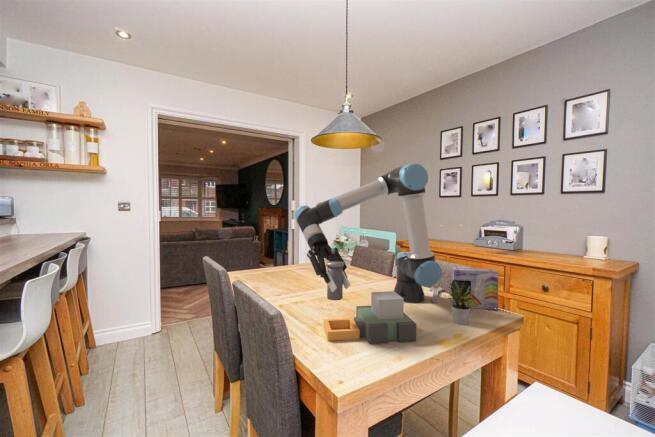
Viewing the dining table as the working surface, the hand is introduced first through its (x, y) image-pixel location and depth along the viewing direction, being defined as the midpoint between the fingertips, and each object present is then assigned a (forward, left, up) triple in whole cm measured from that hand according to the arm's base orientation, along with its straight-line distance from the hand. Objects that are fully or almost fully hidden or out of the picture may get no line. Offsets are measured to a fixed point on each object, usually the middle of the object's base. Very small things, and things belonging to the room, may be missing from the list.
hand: (341, 288), depth 100 cm
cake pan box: (-65, -19, -16) cm, 70 cm away
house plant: (-48, -5, -16) cm, 50 cm away
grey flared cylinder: (+2, -3, -4) cm, 6 cm away
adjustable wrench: (-56, -38, -17) cm, 70 cm away
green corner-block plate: (-9, 0, -16) cm, 19 cm away
